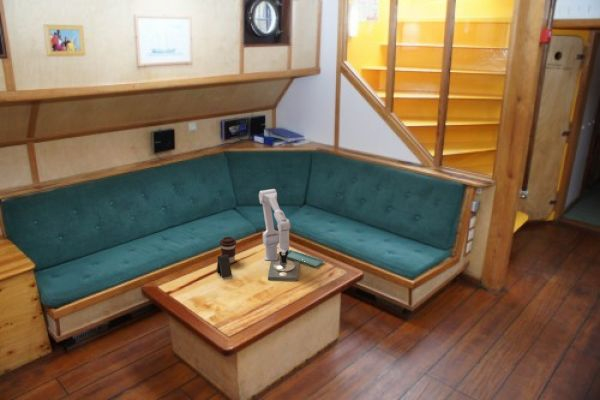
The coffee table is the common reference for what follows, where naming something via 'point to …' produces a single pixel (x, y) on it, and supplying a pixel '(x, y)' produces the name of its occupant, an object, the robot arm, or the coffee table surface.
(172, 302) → the coffee table surface
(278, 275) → the scale base
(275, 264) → the scale pan
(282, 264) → the cylinder
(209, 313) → the coffee table surface
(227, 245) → the coffee cup
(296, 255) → the rectangular tray
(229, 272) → the phone stand
